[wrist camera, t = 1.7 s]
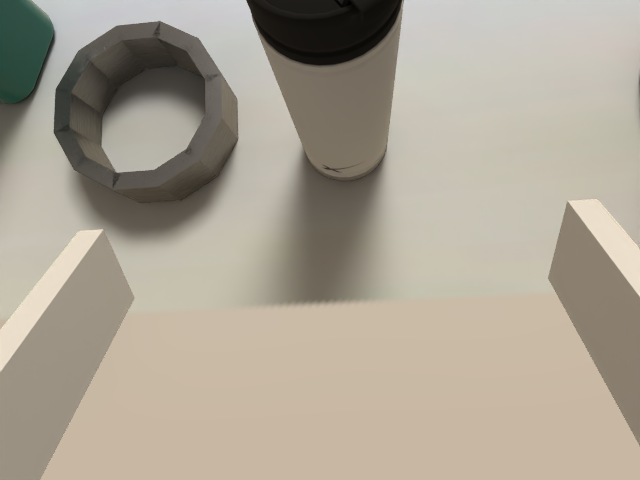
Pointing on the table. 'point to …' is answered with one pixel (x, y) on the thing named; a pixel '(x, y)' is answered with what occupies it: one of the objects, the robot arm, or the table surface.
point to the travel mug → (334, 76)
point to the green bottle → (22, 47)
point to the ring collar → (101, 84)
